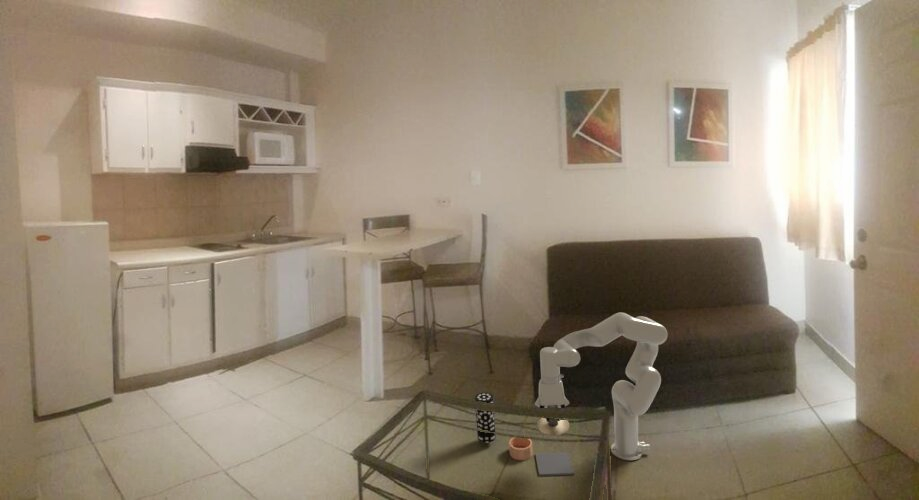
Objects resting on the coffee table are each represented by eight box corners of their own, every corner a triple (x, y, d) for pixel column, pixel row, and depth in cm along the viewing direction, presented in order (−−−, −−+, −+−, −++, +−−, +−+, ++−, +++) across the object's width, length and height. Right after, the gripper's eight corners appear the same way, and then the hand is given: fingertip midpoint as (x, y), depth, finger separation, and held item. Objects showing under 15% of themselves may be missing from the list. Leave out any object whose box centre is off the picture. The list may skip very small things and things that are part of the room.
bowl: (531, 446, 201) (530, 435, 200) (533, 459, 191) (533, 449, 190) (509, 446, 201) (508, 436, 200) (510, 460, 191) (509, 449, 191)
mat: (567, 453, 193) (567, 452, 193) (574, 474, 179) (574, 473, 179) (535, 454, 194) (535, 453, 194) (539, 475, 180) (539, 474, 180)
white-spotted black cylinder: (496, 442, 201) (493, 400, 198) (477, 443, 201) (475, 401, 198) (495, 432, 209) (492, 392, 206) (477, 433, 209) (474, 393, 206)
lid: (566, 417, 190) (565, 399, 189) (572, 434, 177) (571, 415, 176) (535, 418, 191) (534, 401, 190) (539, 435, 178) (538, 417, 177)
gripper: (569, 372, 184) (571, 413, 187) (529, 375, 185) (531, 415, 188) (573, 380, 177) (575, 423, 180) (530, 383, 178) (533, 425, 181)
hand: (552, 419), depth 184 cm, fingers closed on lid, 4 cm apart
